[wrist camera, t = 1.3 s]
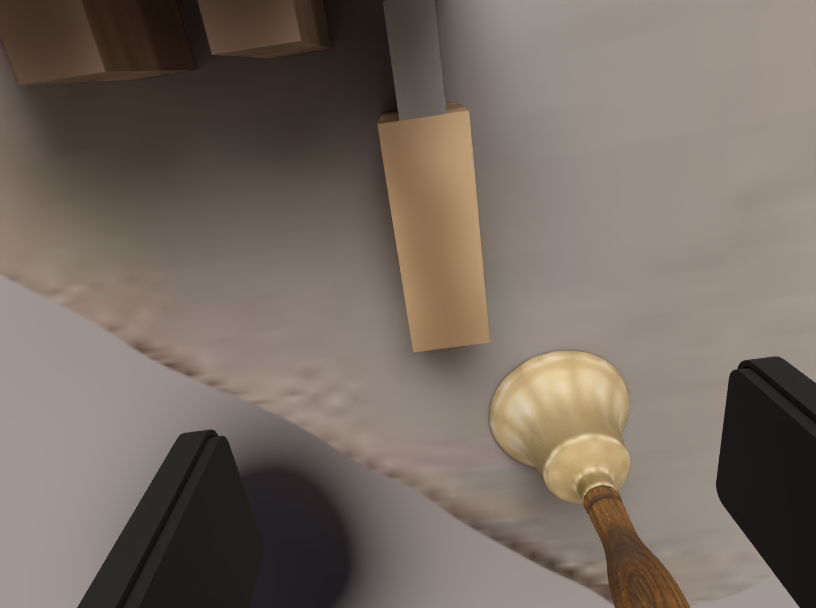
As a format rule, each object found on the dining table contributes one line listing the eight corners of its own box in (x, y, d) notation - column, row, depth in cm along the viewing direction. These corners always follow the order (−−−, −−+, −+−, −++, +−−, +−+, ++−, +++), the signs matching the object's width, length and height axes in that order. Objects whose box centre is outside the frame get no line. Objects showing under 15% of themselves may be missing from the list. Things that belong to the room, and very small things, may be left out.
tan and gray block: (446, 4, 23) (458, -11, 18) (475, 298, 29) (489, 342, 24) (366, 16, 23) (358, 4, 19) (411, 306, 29) (413, 352, 24)
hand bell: (655, 376, 31) (883, 653, 16) (584, 479, 34) (723, 790, 19) (527, 329, 30) (652, 586, 15) (466, 442, 33) (519, 746, 18)
